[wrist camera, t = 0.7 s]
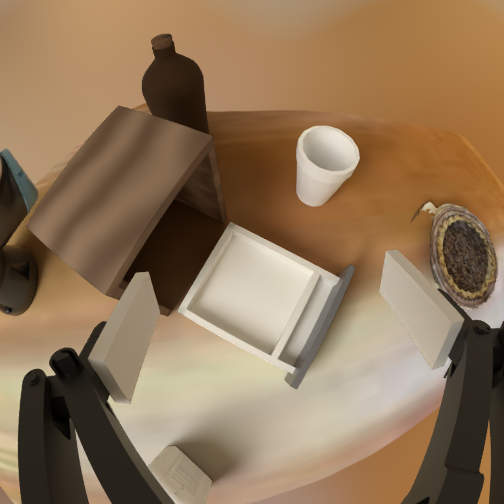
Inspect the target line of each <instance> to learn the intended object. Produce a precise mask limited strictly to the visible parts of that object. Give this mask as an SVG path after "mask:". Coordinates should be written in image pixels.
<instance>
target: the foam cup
mask: <svg viewBox="0 0 504 504" xmlns="http://www.w3.org/2000/svg"><path fill="white" fill-rule="evenodd" d="M359 159H360V157H359V150H358V147H357V146H356V144H355V143H354V141H353V140H352V138H351V137H350V136H348V135H347V134H345V133H344V132H343V131H341V130H339V129H336V128H333V127H330V126H313V127H311V128H309V129H307V130H305V131H304V132H303V133H302V135H301V136H300V138H299V139H298V143H297V148H296V160H297V181H296V193H297V195H298V197H299V199H300V200H301V201H302V202H303V203H305V204H306V205H309V206H313V207H314V206H321V205H322V204H324V203H326V201H328V200H329V199H330V197H331V196H332V195H333V194H334V193H335V192H336V191H337V190H338V188H339V187H340V186H341V185H342V184H343V183H344V182H345V181H346V179H348V178H349V177H351V175H352V173H353V172H354V170H355V168H356V166H357V164H358V162H359Z"/></svg>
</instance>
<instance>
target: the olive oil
mask: <svg viewBox="0 0 504 504" xmlns="http://www.w3.org/2000/svg"><path fill="white" fill-rule="evenodd" d="M151 43H152V45H153V47H152V49H153V53H154V56H155V59H154V61H153V62H152V64H151V65H150V66H149V68H148V69H147V71H146V72H145V74H144V76H143V80H142V92H143V96H144V98H145V100H146V103H147V105H148V107H149V109H150V111H151V113H152V115H153V116H156V117H159V118H162V119H165V120H168V121H171V122H174V123H177V124H180V125H183V126H186V127H189V128H192V129H194V130H197V131H200V132H203V133H205V134H208V135H209V130H208V123H207V115H206V104H205V93H204V80H203V75H202V72H201V70H200V68H199V66H198V65H197V64H196V63H195V62H194V61H193V60H191V59H190V58H187V57H185V56H183V55H180V54H178V53H176V52H175V47H174V42H173V41H172V36H171V35H170V34H161V35H158V36H156V37H154V38H153V39H152V40H151Z"/></svg>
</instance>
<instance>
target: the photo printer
mask: <svg viewBox="0 0 504 504" xmlns="http://www.w3.org/2000/svg"><path fill="white" fill-rule="evenodd" d="M148 468H149V470H150V471H151V473H152V474H153V475H154V477H155V478H156V479H157V481H158V482H159V483H160V485H161V486H162V487H163V489H164V490H165V491H166V493H167V494H168V495H169V496H170V498H171V499H172V500H173V501H174V502H175V504H206V500H207V497H208V494H209V491H210V488H211V485H212V481H211V479H210V478H209V477H208V476H207V475H206V474H205V473H204V472H203V471H202V470H201V469H200V468H199V467H198V466H197V465H195V464H194V463H193V462H192V461H191V460H190V459H189V458H188V457H187V456H186V455H185V454H184V453H183V452H182V451H181V450H179V449H178V448H177V447H175V446H168V447H166V448H164V449H163V450H162V451H161V452H160V454H159V455H158V456H157V457H156V458H155V459H154V460H153V461H152V462H151V463H150V465H149V466H148Z"/></svg>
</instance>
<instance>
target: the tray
mask: <svg viewBox="0 0 504 504" xmlns="http://www.w3.org/2000/svg"><path fill="white" fill-rule="evenodd" d="M355 268H356V267H354V266H352V265H348V266H347V267H346V268H345V269H343V270H342V271H341V272H340V273H338V274H337V275H336V276H335V275H334V274H332V273H330V272H328V271H326V270H324V269H322V268H320V267H318V266H316V265H314V264H312V263H311V262H309V261H307V260H305V259H303V258H301V257H299V256H297V255H295V254H293V253H291V252H289V251H287V250H285V249H283V248H281V247H279V246H277V245H276V244H274V243H272V242H270V241H268V240H266V239H264V238H262V237H260V236H258V235H256V234H254V233H252V232H250V231H248V230H246V229H244V228H242V227H240V226H238V225H236V224H234V223H232V222H230V223H229V225H228V227H227V228H226V230H225V231H224V233H223V235H222V236H221V238H220V240H219V241H218V243H217V245H216V246H215V248H214V249H213V251H212V253H211V254H210V256H209V258H208V259H207V261H206V263H205V264H204V266H203V268H202V269H201V271H200V273H199V275H198V276H197V278H196V280H195V281H194V283H193V285H192V286H191V288H190V290H189V292H188V293H187V295H186V297H185V298H184V300H183V302H182V304H181V305H180V307H179V309H178V311H177V312H179V313H181V314H182V315H184V316H186V317H187V318H189V319H191V320H192V321H194V322H196V323H197V324H199V325H201V326H202V327H204V328H206V329H208V330H209V331H211V332H213V333H215V334H216V335H218V336H220V337H222V338H224V339H225V340H227V341H229V342H231V343H233V344H234V345H236V346H238V347H240V348H242V349H244V350H246V351H248V352H249V353H251V354H253V355H255V356H257V357H259V358H261V359H263V360H265V361H267V362H269V363H271V364H273V365H275V366H277V367H279V368H281V369H283V370H285V371H287V372H288V374H287V376H286V377H285V379H284V380H285V381H286V382H287V383H288V384H289V385H290V386H291V387H293V388H295V389H297V388H298V387H299V385H300V383H301V381H302V379H303V378H304V376H305V374H306V372H307V370H308V368H309V366H310V364H311V363H312V361H313V359H314V357H315V355H316V353H317V351H318V349H319V347H320V345H321V343H322V341H323V339H324V337H325V335H326V333H327V331H328V329H329V327H330V325H331V322H332V320H333V318H334V316H335V314H336V312H337V310H338V307H339V305H340V303H341V301H342V298H343V296H344V294H345V292H346V289H347V287H348V285H349V282H350V280H351V278H352V275H353V273H354V270H355Z"/></svg>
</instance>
